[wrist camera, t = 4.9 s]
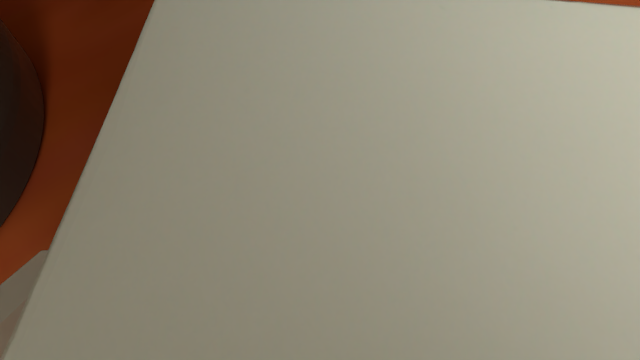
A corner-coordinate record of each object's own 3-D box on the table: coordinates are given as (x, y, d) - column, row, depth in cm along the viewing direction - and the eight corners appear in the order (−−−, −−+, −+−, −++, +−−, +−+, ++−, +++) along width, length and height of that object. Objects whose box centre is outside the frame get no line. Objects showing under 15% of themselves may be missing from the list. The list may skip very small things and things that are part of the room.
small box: (523, 305, 19) (773, 3, 8) (518, 536, 16) (908, 609, 5) (272, 267, 20) (159, -49, 9) (225, 477, 17) (-40, 420, 6)
